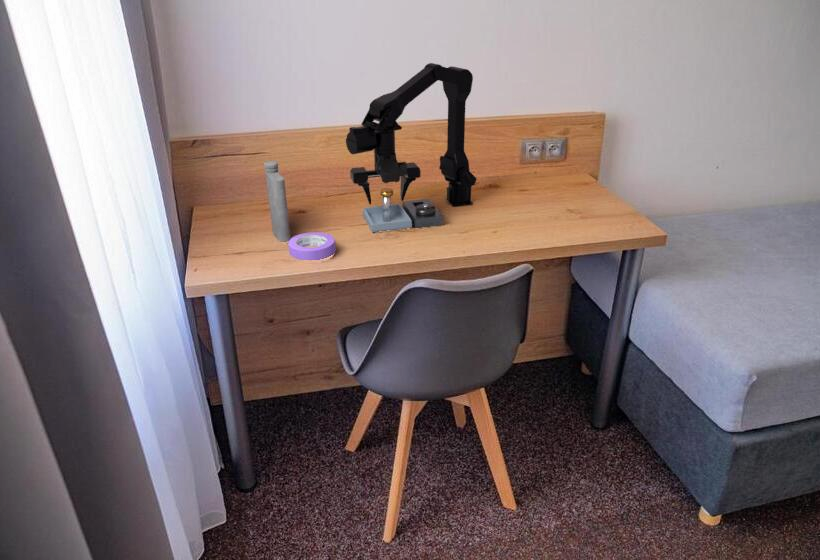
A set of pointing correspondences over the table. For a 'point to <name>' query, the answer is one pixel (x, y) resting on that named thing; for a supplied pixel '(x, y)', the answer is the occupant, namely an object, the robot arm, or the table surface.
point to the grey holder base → (423, 213)
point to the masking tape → (309, 239)
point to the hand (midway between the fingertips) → (386, 202)
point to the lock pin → (386, 204)
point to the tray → (397, 222)
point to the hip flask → (277, 201)
